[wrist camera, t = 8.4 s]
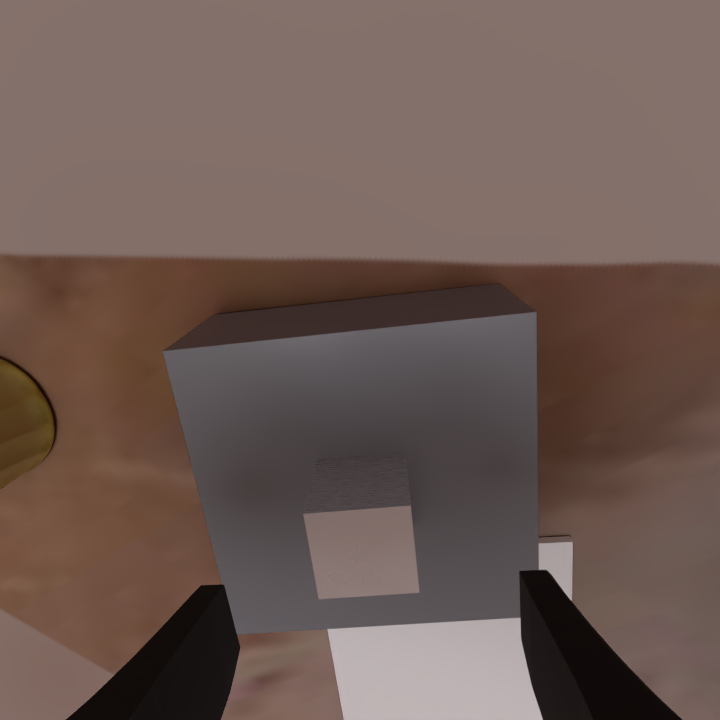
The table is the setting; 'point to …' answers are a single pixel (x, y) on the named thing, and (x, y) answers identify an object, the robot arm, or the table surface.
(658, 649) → the table surface
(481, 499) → the cover
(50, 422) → the vase
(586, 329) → the table surface
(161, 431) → the table surface
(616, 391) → the table surface
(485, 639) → the mat
